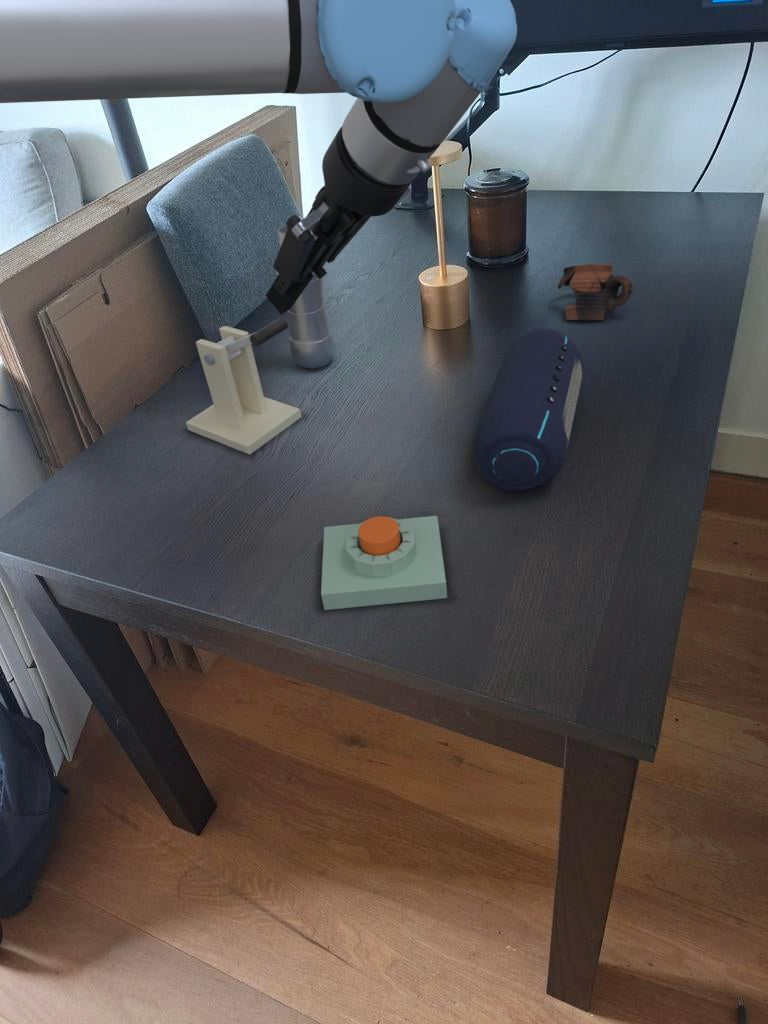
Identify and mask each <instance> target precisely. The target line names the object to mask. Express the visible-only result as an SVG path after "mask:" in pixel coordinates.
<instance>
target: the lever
mask: <svg viewBox="0 0 768 1024" xmlns="http://www.w3.org/2000/svg"><path fill="white" fill-rule="evenodd" d="M288 327H289V322H288V321H287V319H285V318H284V317H279V318H277V319H276V320H274V321H272V322H271V323H269V324H267V325H266V326H264V327H261V328H260V329H259V330H257V331H255V332H253V333H249V335H248V336H246V337H243V338H241V339H239V340H236V341H235V339H234V337H233V336H230V337H227V338H225V339H223V340H222V339H221V340H219V341H217V342H216V343H217V344H220V345H223V346H225V348H226V352H227V355H228V359H229V360H231V359H232V358H234V357H236V356H237V355H239V354H241V353H242V352H241V350H240V349H241V348H244V347H246V346H249V345H251V346H254V347H259V346H261V345H262V344H265V343H266V342H267V341H269V340H270V339H273V338H274V337H275V336H277V335H279V334H280V333H282V332H283V331H286V330H287V329H288Z"/></svg>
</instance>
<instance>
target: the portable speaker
mask: <svg viewBox="0 0 768 1024" xmlns="http://www.w3.org/2000/svg"><path fill="white" fill-rule="evenodd" d="M584 368H585V367H584V362H583V358H582V355H581V352H580V351H579V349H578V347H577V345H576V344H575V343H574V342H573V341H572V340H571V339H570V338H569V337H567V336H566V335H565V334H563V333H562V332H559V331H558V330H556V329H551V328H546V327H545V328H544V327H543V328H541V327H540V328H535V329H531V330H529V331H526V332H524V333H522V334H521V335H519V337H517V339H516V340H515V341H514V342H513V343H511V345H510V347H509V349H508V350H507V351H506V353H505V354H504V356H503V359H502V361H501V365H500V367H499V370H498V372H497V375H496V379H495V381H494V383H493V386H492V389H491V392H490V395H489V397H488V401H487V403H486V405H485V408H484V411H483V414H482V416H481V419H480V422H479V425H478V427H477V429H476V430H477V431H476V434H475V442H474V443H475V445H474V459H475V462H476V465H477V468H478V471H479V473H480V474H481V475H482V476H483V478H484V479H485V480H486V481H487V483H489V484H491V485H493V486H494V487H496V488H499V489H502V490H506V491H512V492H518V491H519V492H521V491H528V490H531V489H533V488H536V487H539V486H541V485H542V484H544V483H546V482H548V481H549V480H551V479H552V478H553V477H555V476H556V475H557V474H558V472H560V470H561V469H562V466H563V464H564V463H565V459H566V456H567V452H568V447H569V443H570V438H571V433H572V428H573V422H574V418H575V413H576V408H577V403H578V399H579V396H580V395H579V394H580V389H581V384H582V380H583V373H584Z"/></svg>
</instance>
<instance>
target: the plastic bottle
mask: <svg viewBox="0 0 768 1024" xmlns="http://www.w3.org/2000/svg"><path fill="white" fill-rule="evenodd" d="M286 232H287V225H283V226H281V227H279V228H278V229H277V236H278V244H279V246H280V247H281V245H282V242H283V240H284V237H285V235H286ZM274 272H275V276H276V278H277V277H278V275H279V273H278V272H277V271H276V270H275V269H274ZM312 275H313V278H312V279H311V281H310V282H309V283H308V285H307V286H306V288H305V289H304V291H303V292H302V293H301V295H300V296H299V298H298V299H297V300H296V302H295V303H294V305H293V306H292V308H291V309H290V310H288V311H287V312H286V313H287V319H288V327H289V351H290V354H291V356H292V359H293V361H294V362H295V363H296V364H297V365H298V366H299V367H301V368H305V369H317V368H321V367H324V366H327V365H329V364H330V363H331V362H332V360H333V358H334V356H335V353H336V352H335V347H336V345H335V340H334V338H333V333H332V332H331V330H330V326H329V322H328V318H327V314H326V309H325V303H324V301H325V300H324V293H323V292H324V291H323V277H322V278H321V279H319V278H318V277H317V276H316V274H315V273H314V272H313V273H312Z"/></svg>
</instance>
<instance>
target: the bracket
mask: <svg viewBox="0 0 768 1024" xmlns="http://www.w3.org/2000/svg"><path fill="white" fill-rule="evenodd" d="M218 330H219V334H220V337H221V340H223V339H225V338H227V337H230V336H233V337H234V339H235V341H236V340H239V339H241V338H243V337H246V336H248V335H250V333H249V332H248V331H246V330H242V329H238V328H235V327H231V326H227V325H223V326H221V327H219V328H218ZM195 345H196V349H197V352H198V355H199V360H200V362H201V365H202V368H203V373H204V376H205V379H206V383H207V386H208V388H209V389H208V390H209V393H210V397H211V400H212V404H211V405H210V406H209V407H207V408H205V409H204V410H202V411H201V412H199V413H197V414H196V415H194V416H193V417H192V418H190V419H188V420H187V421H186V422H185V425H186V428H187V430H188V431H189V432H192V433H194V434H197V435H199V436H202V437H204V438H207V439H210V440H212V441H215V442H217V443H219V444H222V445H224V446H227V447H229V448H232V449H234V450H237V451H239V452H242V453H245V454H246V455H252V454H253V453H254V452H255V451H257V450H259V449H260V448H261V447H263V446H265V444H267V443H268V442H270V441H271V440H272V439H273V438H275V437H277V436H278V435H279V434H281V433H282V432H284V431H285V430H286V429H287V428H289V427H290V426H292V425H293V424H294V423H296V422H297V421H299V420H300V419H301V418H302V417H303V416H302V411H301V408H298V407H296V406H293V405H290V404H286V403H285V402H284V403H283V402H281V401H277V400H275V399H272V398H270V397H266V396H264V392H263V388H262V383H261V380H260V379H261V378H260V376H259V372H258V367H257V363H256V359H255V354H254V350H253V347H252V346H253V345H252V344H251V345H249V346H246V347H244V348H241V349H240V350H241V352H242V353H241V354H239V355H237V356H236V357H234V358H232V359H231V360H229V359H228V355H227V352H226V348H225V346H223V345H220V344H217V342H213V341H210V340H208V339H207V340H206V339H203V338H201V339H199V340H196V341H195Z"/></svg>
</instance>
